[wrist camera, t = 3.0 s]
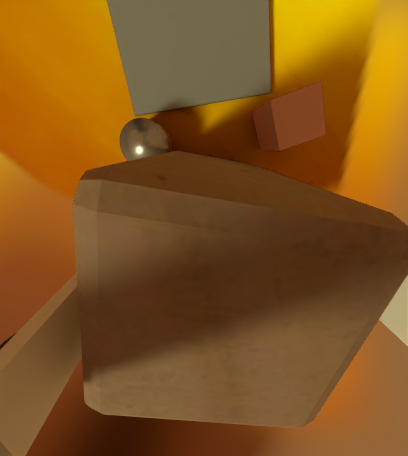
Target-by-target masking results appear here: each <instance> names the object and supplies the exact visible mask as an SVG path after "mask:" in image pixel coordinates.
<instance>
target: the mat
mask: <svg viewBox="0 0 408 456" xmlns="http://www.w3.org/2000/svg"><path fill="white" fill-rule="evenodd" d="M107 3H108V7H109V11H110V15H111V19H112V24H113V28H114V32H115V36H116V40H117V44H118V48H119V52H120V56H121V60H122V65H123V69H124V73H125V77H126V81H127V85H128V89H129V93H130V97H131V101H132V105H133V110H134V114H135V116H140V115H146V114H152V113H158V112H164V111H170V110H176V109H182V108H188V107H193V106H199V105H205V104H211V103H217V102H223V101H229V100H235V99H241V98H247V97H253V96H259V95H265V94H269V93H271V81H270V36H269V0H107Z"/></svg>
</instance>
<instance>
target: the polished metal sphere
mask: <svg viewBox="0 0 408 456" xmlns="http://www.w3.org/2000/svg"><path fill="white" fill-rule="evenodd" d="M120 147H121V150H122V153H123V155H124V156H125V158H126V159H127V160H128V161H131V160H136V159H140V158H145V157H150V156H154V155H159V154H164V153H169V152H172V148H173V144H172V139H171V136H170V134H169V133H168V131H167V130H166V129H165V128H164V127H162V126H161V125H159V124H157V123H155V122H153V121H151V120H149V119H146V118H137V119H133V120H131V121H129V122H128V123H127V124H126V125H125V126H124V128H123V129H122V131H121V135H120Z"/></svg>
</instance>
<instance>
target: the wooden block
mask: <svg viewBox="0 0 408 456" xmlns="http://www.w3.org/2000/svg"><path fill="white" fill-rule="evenodd" d="M72 206H73V221H74V236H75V237H74V238H75V252H76V253H75V254H76V269H77V285H78V301H79V317H80V333H81V349H82V364H83V379H84V396H85V403H86V404H87V405H88V406H89V407H91V408H93V409H95V410H96V411H98V412H100V413H102V414H106V415H120V416H134V417H148V418H161V419H176V420H189V421H190V420H191V421H203V422H217V423H231V424H244V425H258V426H272V427H285V428H300V427H303V426H305V425H306V424H308V423H309V422H311V421H313V420H314V419H315V417H316V415H317V414H318V412H319V411H320V409H321V408H322V406H323V405H324V403H325V402H326V400H327V398H328V397H329V395H330V394H331V392H332V391H333V389H334V388H335V386H336V385H337V383H338V382H339V380H340V378H341V377H342V375H343V374H344V372H345V371H346V369H347V368H348V366H349V365H350V363H351V361H352V360H353V358H354V357H355V355H356V354H357V352H358V351H359V349H360V348H361V346H362V344H363V343H364V341H365V340H366V338H367V337H368V335H369V334H370V332H371V331H372V329H373V328H374V326H375V324H376V323H377V321H378V320H379V318H380V317H381V315H382V314H383V312H384V311H385V309H386V308H387V306H388V304H389V303H390V301H391V300H392V298H393V297H394V295H395V294H396V292H397V291H398V289H399V288H400V286H401V284H402V283H403V281H404V280H405V278H406V277H407V275H408V226H407V225H406V224H405V223H404V222H402V221H401V220H400V219H399V218H397V217H396V216H395V215H393V214H392V213H390V212H387V211H384V210H381V209H378V208H375V207H373V206H369V205H367V204H364V203H361V202H358V201H355V200H352V199H350V198H347V197H344V196H341V195H338V194H335V193H332V192H329V191H327V190H324V189H321V188H318V187H315V186H312V185H309V184H306V183H304V182H301V181H298V180H295V179H292V178H289V177H286V176H283V175H281V174H278V173H275V172H272V171H269V170H266V169H263V168H260V167H258V166H255V165H252V164H248V163H243V162H237V161H232V160H227V159H221V158H216V157H211V156H206V155H200V154H195V153H190V152H184V151H179V150H178V151H173V152H169V153H164V154H159V155H154V156H150V157H145V158H140V159H136V160H131V161H126V162H121V163H117V164H112V165H108V166H104V167H100V168H95V169H91V170H87V171H86V172H85V173H84V175H83V176H82V177H81V179H80V180H79V184H78V187H77V190H76V193H75V197H74V200H73V203H72Z"/></svg>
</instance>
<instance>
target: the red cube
mask: <svg viewBox="0 0 408 456" xmlns="http://www.w3.org/2000/svg"><path fill="white" fill-rule="evenodd" d="M252 114H253V119H254V123H255V128H256V133H257V137H258V142H259V147H260V150H269V151H282V150H284V149H287V148H290V147H293V146H296V145H299V144H302V143H305V142H308V141H311V140H313V139H316V138H319V137H322V136H325V135H326V127H325V117H324V106H323V96H322V86H321V81H320V82H318V83H315V84H312V85H309V86H307V87H304V88H301V89H299V90H296V91H293V92H291V93H288V94H285V95H283V96H280V97H277V98H274V99H272V100H270V101H268V102H267V103H265V104H263V105H262V106H260V107H259V108H257V109H256V110H254V111H253V112H252Z"/></svg>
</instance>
